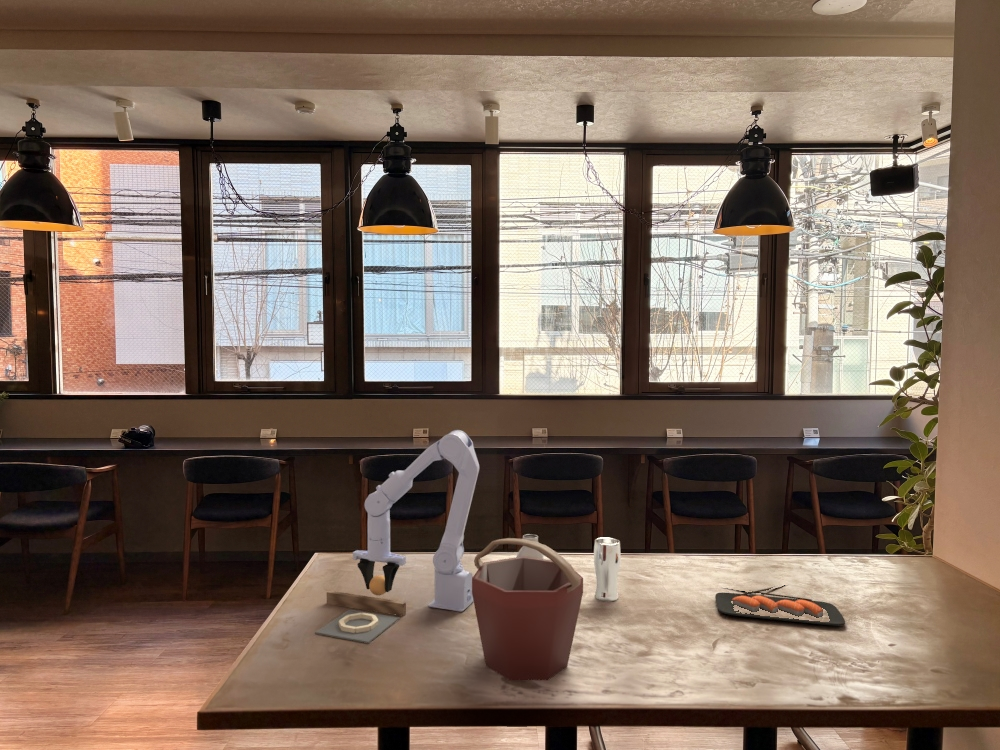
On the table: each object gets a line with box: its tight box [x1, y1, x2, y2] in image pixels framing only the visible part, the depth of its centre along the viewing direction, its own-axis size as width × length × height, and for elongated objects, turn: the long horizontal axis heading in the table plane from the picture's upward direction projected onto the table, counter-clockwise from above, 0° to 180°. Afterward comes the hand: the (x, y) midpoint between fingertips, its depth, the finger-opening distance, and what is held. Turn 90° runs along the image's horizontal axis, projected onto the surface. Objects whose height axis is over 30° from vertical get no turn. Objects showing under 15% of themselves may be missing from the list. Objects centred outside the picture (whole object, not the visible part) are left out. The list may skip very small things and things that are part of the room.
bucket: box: [472, 537, 584, 681], centre depth 136 cm, size 24×22×25 cm
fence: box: [326, 590, 407, 617], centre depth 163 cm, size 22×1×3 cm, turn 70°
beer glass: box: [593, 537, 621, 602], centre depth 172 cm, size 7×7×15 cm
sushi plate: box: [714, 586, 846, 627], centre depth 171 cm, size 29×30×4 cm
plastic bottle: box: [516, 533, 544, 559], centre depth 158 cm, size 6×7×20 cm
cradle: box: [315, 608, 401, 644], centre depth 153 cm, size 14×14×1 cm
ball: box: [369, 574, 387, 597], centre depth 169 cm, size 5×5×5 cm
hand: (379, 589), depth 169 cm, fingers closed on ball, 5 cm apart
